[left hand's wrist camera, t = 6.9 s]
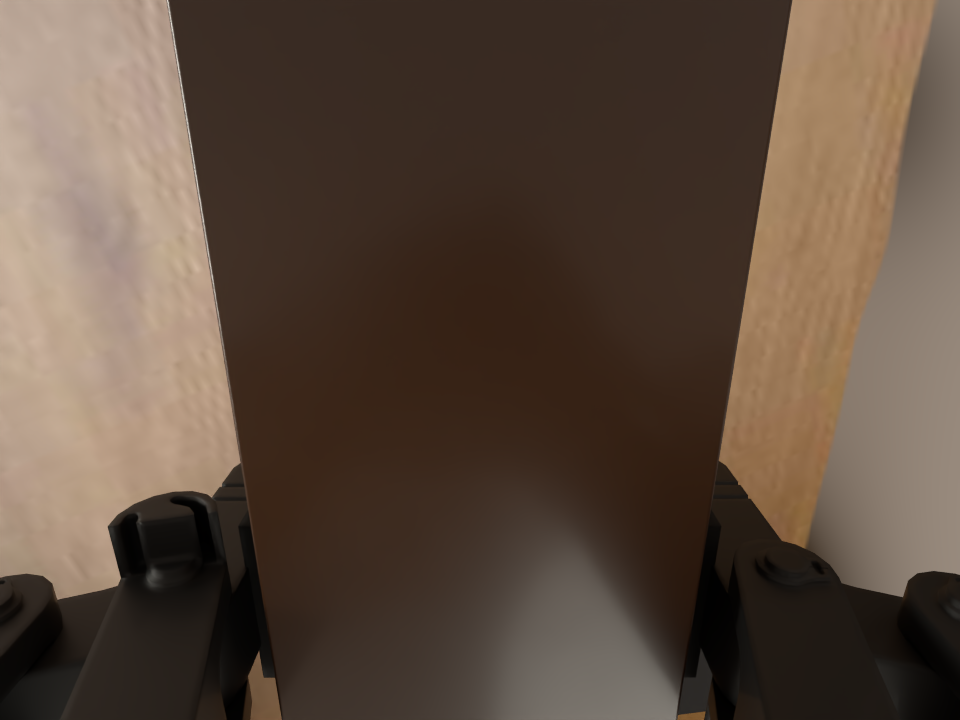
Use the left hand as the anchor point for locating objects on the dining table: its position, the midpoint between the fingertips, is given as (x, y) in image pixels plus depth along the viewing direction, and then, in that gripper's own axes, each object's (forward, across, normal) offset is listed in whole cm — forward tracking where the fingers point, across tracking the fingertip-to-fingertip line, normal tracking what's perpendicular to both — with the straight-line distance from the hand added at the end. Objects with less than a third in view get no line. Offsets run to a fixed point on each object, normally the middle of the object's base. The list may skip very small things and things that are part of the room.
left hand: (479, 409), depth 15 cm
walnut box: (+1, 0, -8) cm, 8 cm away
